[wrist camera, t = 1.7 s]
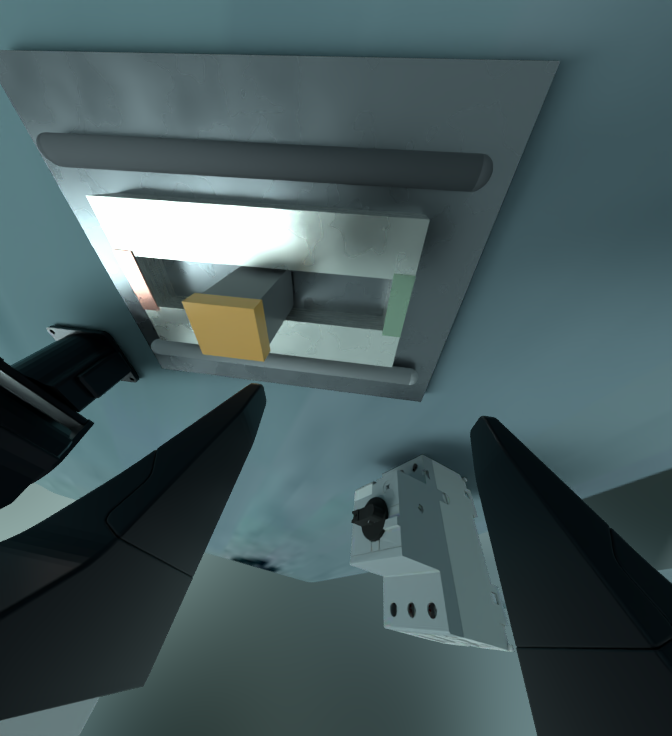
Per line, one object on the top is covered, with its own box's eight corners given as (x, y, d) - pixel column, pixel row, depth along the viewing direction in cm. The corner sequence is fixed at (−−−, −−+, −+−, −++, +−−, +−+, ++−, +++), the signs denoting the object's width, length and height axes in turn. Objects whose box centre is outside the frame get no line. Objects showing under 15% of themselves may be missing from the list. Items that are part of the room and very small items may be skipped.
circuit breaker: (384, 433, 28) (387, 616, 16) (466, 478, 32) (516, 652, 20) (347, 456, 32) (330, 613, 21) (423, 493, 36) (444, 643, 25)
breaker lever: (251, 302, 18) (202, 354, 13) (243, 260, 16) (181, 301, 11) (296, 307, 17) (263, 361, 12) (293, 264, 15) (253, 309, 11)
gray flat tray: (162, 347, 22) (151, 356, 21) (49, 133, 13) (19, 130, 12) (414, 378, 21) (416, 389, 19) (492, 154, 11) (504, 153, 10)
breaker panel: (168, 362, 25) (147, 382, 23) (6, 57, 12) (-84, 30, 10) (419, 394, 23) (424, 419, 21) (546, 69, 10) (598, 38, 8)
